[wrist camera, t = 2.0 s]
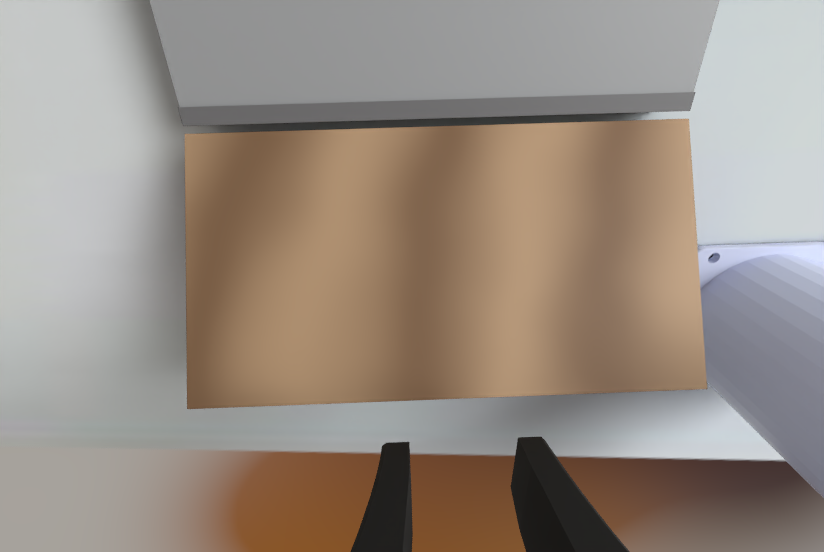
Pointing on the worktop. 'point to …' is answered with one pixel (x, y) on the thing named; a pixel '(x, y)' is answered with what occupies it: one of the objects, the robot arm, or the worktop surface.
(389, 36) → the floor board
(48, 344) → the worktop surface
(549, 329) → the tan flat block
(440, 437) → the worktop surface
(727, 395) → the robot arm
